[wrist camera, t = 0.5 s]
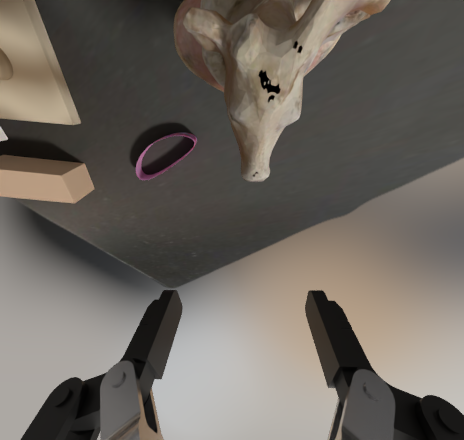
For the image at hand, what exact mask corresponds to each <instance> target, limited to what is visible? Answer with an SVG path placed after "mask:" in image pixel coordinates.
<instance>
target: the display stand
mask: <svg viewBox="0 0 464 440" xmlns="http://www.w3.org/2000/svg"><path fill="white" fill-rule="evenodd" d="M0 118H3V119H14V120H25V121H35V122H46V123H57V124H67V125H76V124H80V123H81V121H80V119H79V116H78V113H77V111H76V108H75V105H74V103H73V100H72V97H71V95H70V92H69V90H68V87H67V84H66V82H65V79H64V76H63V74H62V71H61V69H60V66H59V63H58V61H57V58H56V55H55V53H54V50H53V47H52V45H51V42H50V40H49V37H48V34H47V32H46V29H45V26H44V24H43V21H42V19H41V16H40V13H39V11H38V8H37V5H36V3H35V0H0ZM4 140H8V138H7V136H6V135H5V133H4V131H3V130H2V128H1V127H0V141H4Z"/></svg>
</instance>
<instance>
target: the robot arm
mask: <svg viewBox="0 0 464 440" xmlns="http://www.w3.org/2000/svg"><path fill="white" fill-rule="evenodd" d="M305 311H306V317H307V320H308V323H309V326H310V330H311V333H312V336H313V340H314V343H315V346H316V349H317V353H318V356H319V359H320V362H321V366H322V369H323V372H324V376H325V379H326V382H327V385H328V388H336V391H337V394H338V397H339V398H338V402H337V405H336V410H335V413H334V417H333V421H332V425H331V429H330V432H329V436H328V440H464V415H463V414H462V413H461V412H460V411H459V410H458V409H457V408H455V407H454V406H453V405H451V404H450V403H449V402H447V401H445V400H444V399H442V398H440V397H437V396H433V395H427V396H425V397H423V398H420V397H417V396H414V395H412V394H409V393H407V392H404V391H402V390H399V389H397V388H395V387H392V386H391V385H389V384H388V383H386V382H385V381H384V380H383V379H381V378H380V377H379V376H378V375H377V374H376V372H375V371H374V370H373V368H372V367H371V365H370V363H369V361H368V359H367V357H366V355H365V353H364V351H363V349H362V347H361V345H360V343H359V341H358V339H357V337H356V335H355V333H354V331H353V330H352V327H351V325H350V323H349V322H348V319H347V317H346V315H345V313H344V312H343V309H342V308H341V307H340V306H339V305H338V304H337V303H336V302H335V301H328V299H327V297H326V295H325V293H324V292H323V291H309V292H308V296H307V301H306V305H305ZM181 315H182V303H181V300H180V298H179V295H178V292H177V291H176V290H164V291H163V292H162V294H161V296H160V298H159V300H154V301H153V302H152V303H151V304H150V305H149V306H148V308H147V310H146V312H145V314H144V316H143V318H142V320H141V322H140V324H139V326H138V328H137V330H136V332H135V334H134V336H133V338H132V340H131V342H130V344H129V346H128V348H127V350H126V352H125V354H124V356H123V358H122V359H121V360H120V362H119V363H117V364H116V365H114V366H113V367H112V368H111V369H110V370H109V371H108V372H107V373H105V374H102V375H99V376H97V377H94V378H91V379H88V380H85V381H82V380H81V379H79V378H77V377H74V378H70V379H68V380H66V381H64V382H62V383H61V384H60V385H59V386H58V387H56V388H55V389H54V390H53V392H52V393H51V394H50V395H49V397H48V398H47V400H46V401H45V403H44V404H43V406H42V408H41V409H40V410H39V412H38V414H37V415H36V417H35V419H34V420H33V421H32V423H31V424H30V426H29V428H28V429H27V431H26V432H25V434H24V435H23V437H22V438H21V440H97V438H98V435H99V433H100V430H101V440H164V439H163V437H162V434H161V431H160V426H159V421H158V417H157V412H156V407H155V402H154V397H153V392H152V384H153V381H154V379H162V376H163V372H164V369H165V366H166V363H167V359H168V356H169V353H170V350H171V347H172V344H173V340H174V337H175V334H176V331H177V328H178V324H179V321H180V318H181Z"/></svg>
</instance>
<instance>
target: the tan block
mask: <svg viewBox="0 0 464 440" xmlns="http://www.w3.org/2000/svg"><path fill="white" fill-rule="evenodd" d="M94 189H95V188H94V186H93V183H92V181H91V178H90V176H89V173H88V171H87V168H86V166H85V163H76V162H67V161H57V160H48V159H39V158H29V157H20V156H10V155H2V156H0V196H3V197H13V198H23V199H34V200H45V201H56V202H66V203H76V202H78V201H79V200H80V199H82V198H83V197H84V196H86V195H87V194H88V193H90V192H91V191H92V190H94Z"/></svg>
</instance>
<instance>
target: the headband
mask: <svg viewBox="0 0 464 440" xmlns="http://www.w3.org/2000/svg"><path fill="white" fill-rule="evenodd" d="M172 136H186V137H189V138H191V139H192V140H193V141H194V146H195V145H196V143H197V138H196V136H195V135H193V134H191V133H183V132H182V133H174V134H170V135H167V136H164V137H162V138H160V139H158V140H156V141H155V142H157V141H159V140H161V139H164V138H167V137H172ZM155 142H153V143H155ZM153 143H152V144H153ZM152 144H151V145H152ZM151 145H149V146H148V147H147V148H146V149H145V150H144V152H143V153H142V154H141V155H140V157H139V159H138V161H137V164H136V174H137V176H138V178H139V179H141V180H148V179H151V178H154V177H156V176H158V175H159V174H161V173H163V172H164V171H166V170H167V169H169V168H170V167H172V166H173V165H175V164H176V163H178V162H179V161H180V160H182V159H183V158H184V157H185V156H187V155H188V154H189V153H190V152H191V151H192V149H193V148H194V147H193V148H192V149H191V150H190V151H189V152H188V153H186V154H185V155H184V156H183V157H181V158H180V159H179V160H177V161H176V162H174V163H173V164H171V165H170V166H168V167H167V168H165V169H163V170H162V171H160V172H158V173H155V174H152V175H147V174H145V173H144V172H143V171H142V168H141V162H142V158H143V156H144V154H145V152H146V151H147V149H148V148H149V147H150V146H151Z"/></svg>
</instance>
